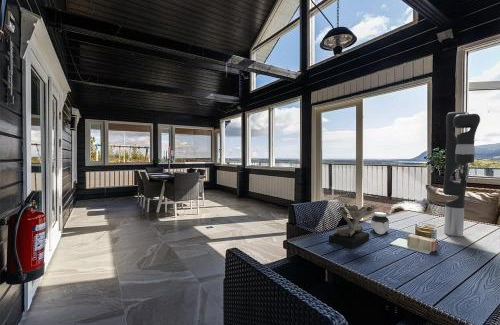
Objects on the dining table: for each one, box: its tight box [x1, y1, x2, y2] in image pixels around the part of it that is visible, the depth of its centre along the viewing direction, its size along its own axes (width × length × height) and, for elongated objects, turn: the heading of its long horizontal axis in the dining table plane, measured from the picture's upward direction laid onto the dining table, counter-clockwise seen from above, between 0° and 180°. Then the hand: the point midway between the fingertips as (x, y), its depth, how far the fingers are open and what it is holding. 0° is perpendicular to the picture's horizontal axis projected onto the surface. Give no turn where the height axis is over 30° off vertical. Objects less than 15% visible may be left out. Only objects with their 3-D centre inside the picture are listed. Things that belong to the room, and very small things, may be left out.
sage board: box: [389, 237, 433, 255], centre depth 141 cm, size 14×18×1 cm
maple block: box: [406, 233, 437, 252], centre depth 138 cm, size 5×5×12 cm
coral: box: [328, 203, 378, 250], centre depth 146 cm, size 25×20×22 cm
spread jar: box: [370, 211, 390, 235], centre depth 165 cm, size 12×11×12 cm
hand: (463, 187), depth 134 cm, fingers closed
